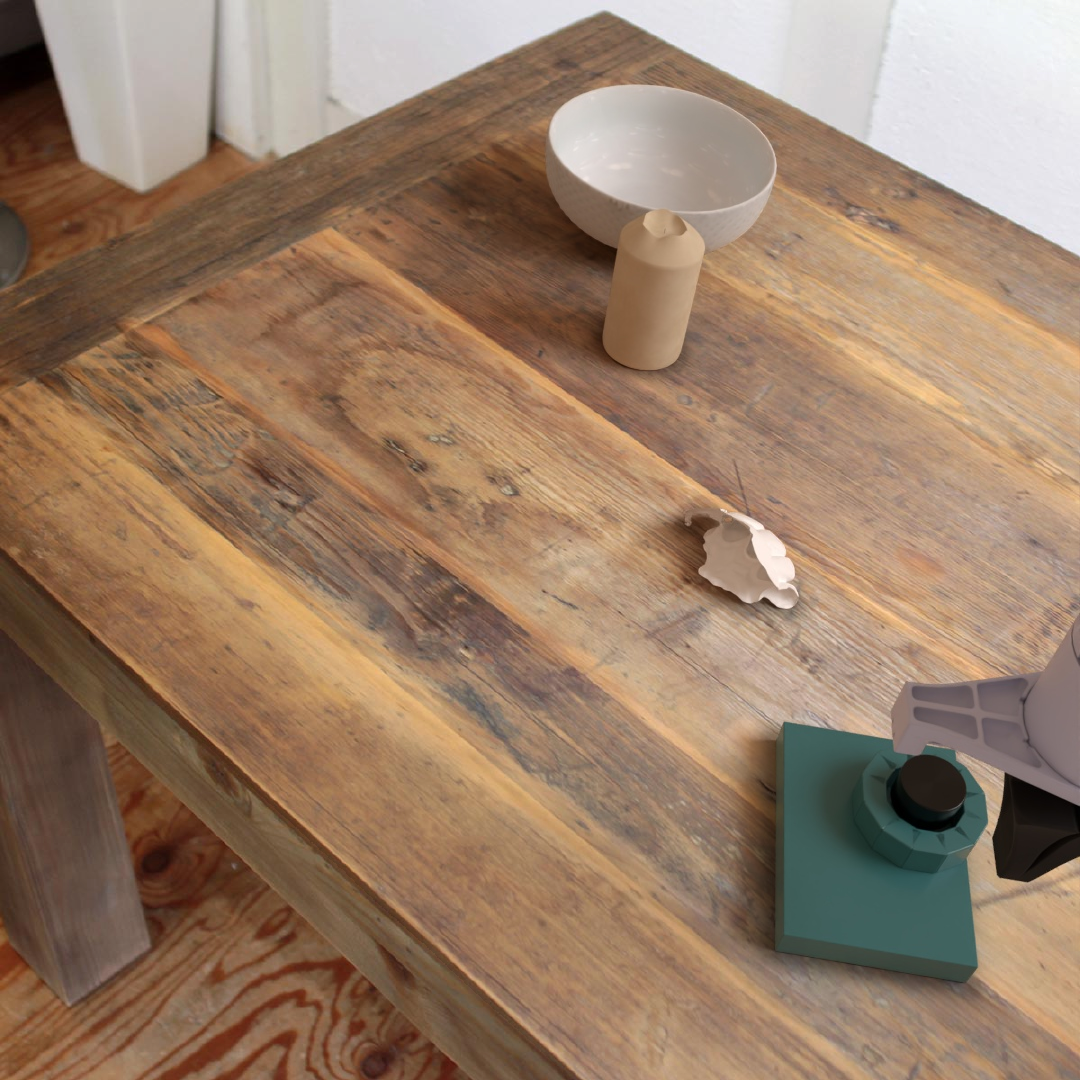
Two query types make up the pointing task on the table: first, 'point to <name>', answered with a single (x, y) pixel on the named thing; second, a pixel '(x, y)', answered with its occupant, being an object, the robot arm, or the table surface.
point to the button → (928, 792)
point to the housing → (869, 859)
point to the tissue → (746, 559)
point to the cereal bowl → (657, 162)
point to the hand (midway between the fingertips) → (1010, 859)
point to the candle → (652, 290)
